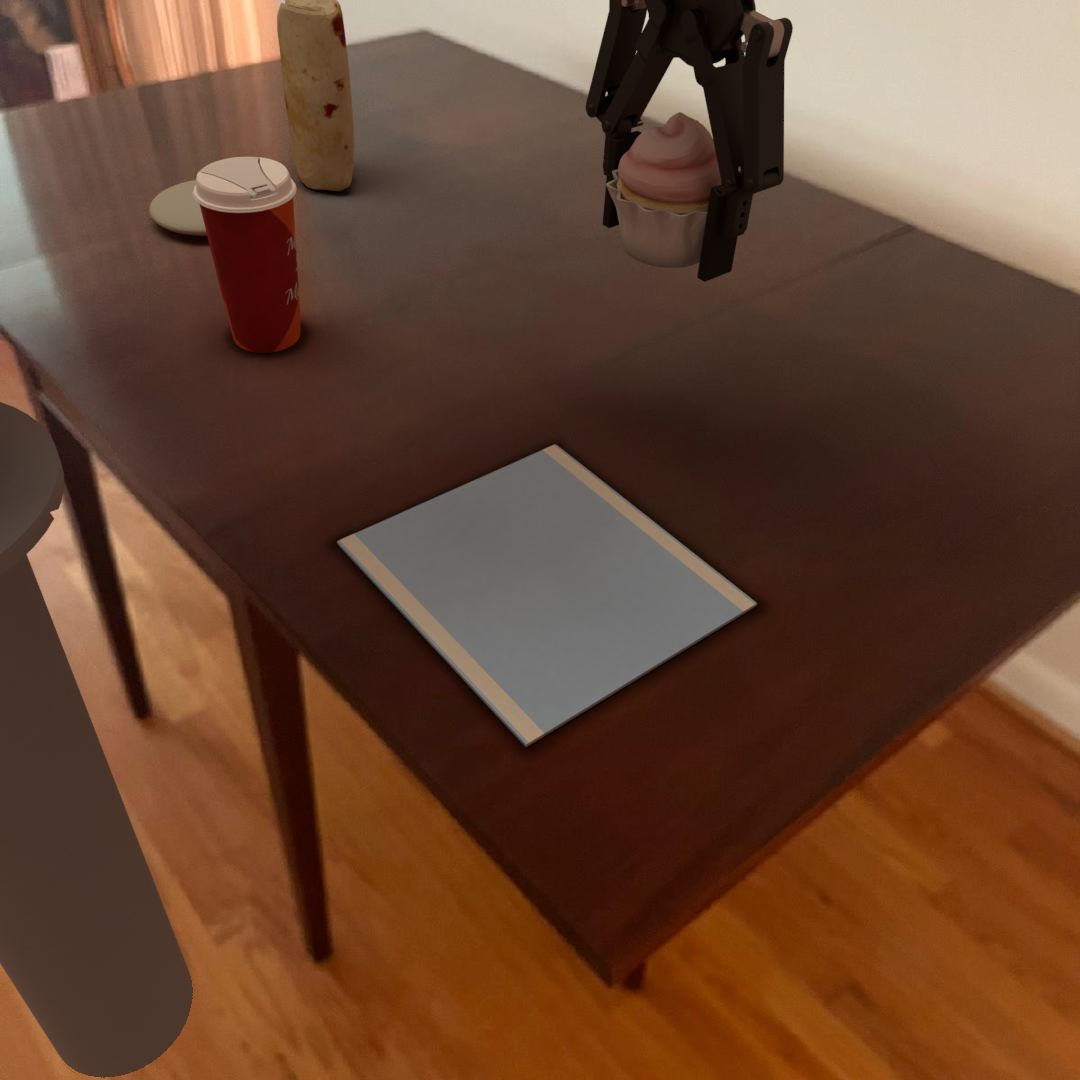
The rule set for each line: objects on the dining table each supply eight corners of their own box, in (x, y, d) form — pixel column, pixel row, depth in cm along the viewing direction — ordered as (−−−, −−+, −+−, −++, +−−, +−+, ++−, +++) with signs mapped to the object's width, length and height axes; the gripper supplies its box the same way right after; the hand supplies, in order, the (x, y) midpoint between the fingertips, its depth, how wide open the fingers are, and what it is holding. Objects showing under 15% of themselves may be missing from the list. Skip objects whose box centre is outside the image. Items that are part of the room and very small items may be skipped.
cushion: (136, 242, 107) (129, 214, 105) (172, 192, 116) (167, 165, 114) (253, 249, 107) (249, 221, 105) (281, 198, 116) (277, 172, 114)
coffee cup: (330, 341, 94) (313, 179, 84) (246, 370, 90) (218, 204, 80) (284, 302, 99) (263, 145, 89) (203, 328, 95) (171, 166, 85)
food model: (372, 191, 118) (359, -2, 105) (316, 203, 115) (296, 6, 102) (336, 160, 124) (319, -27, 110) (282, 170, 121) (259, -20, 108)
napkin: (337, 544, 75) (336, 540, 74) (555, 446, 84) (555, 443, 84) (526, 747, 62) (526, 744, 62) (756, 606, 72) (757, 602, 72)
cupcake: (576, 236, 78) (585, 99, 71) (676, 212, 82) (695, 79, 75) (649, 292, 72) (667, 148, 65) (754, 263, 76) (781, 124, 69)
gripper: (904, -75, 57) (814, 294, 72) (631, -145, 70) (603, 182, 85) (815, -59, 54) (740, 326, 69) (543, -136, 66) (531, 205, 81)
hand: (665, 247), depth 77 cm, fingers closed on cupcake, 9 cm apart
